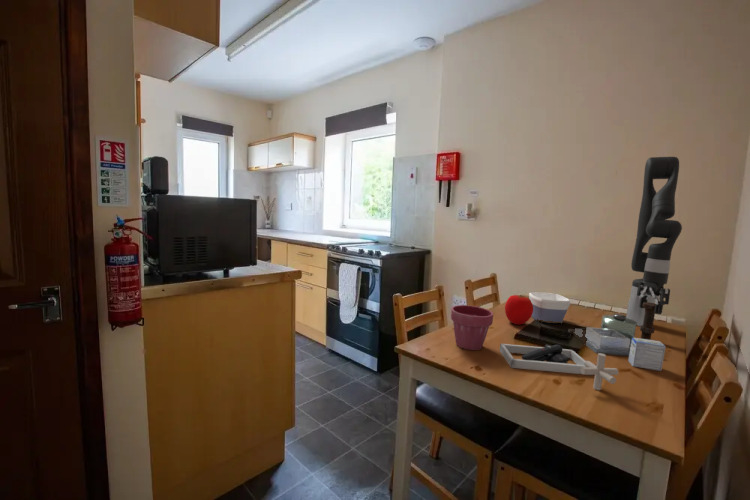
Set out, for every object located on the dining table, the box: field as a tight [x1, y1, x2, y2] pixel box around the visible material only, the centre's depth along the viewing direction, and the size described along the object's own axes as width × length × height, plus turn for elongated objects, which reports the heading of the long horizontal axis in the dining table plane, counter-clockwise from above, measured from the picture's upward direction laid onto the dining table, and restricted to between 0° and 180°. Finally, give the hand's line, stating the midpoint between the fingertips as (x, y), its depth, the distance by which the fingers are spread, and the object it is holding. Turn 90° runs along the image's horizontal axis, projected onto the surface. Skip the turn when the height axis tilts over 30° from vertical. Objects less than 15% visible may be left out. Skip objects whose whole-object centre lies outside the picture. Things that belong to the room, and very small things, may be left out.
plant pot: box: [450, 304, 494, 351], centre depth 123 cm, size 14×14×13 cm
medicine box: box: [628, 337, 666, 372], centre depth 114 cm, size 8×4×9 cm, turn 71°
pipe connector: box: [580, 353, 619, 391], centre depth 97 cm, size 10×10×10 cm
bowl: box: [528, 291, 571, 324], centre depth 158 cm, size 15×15×11 cm
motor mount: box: [574, 313, 637, 357], centre depth 133 cm, size 22×22×10 cm
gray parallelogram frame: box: [499, 343, 589, 376], centre depth 113 cm, size 13×24×2 cm, turn 85°
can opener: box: [521, 344, 570, 364], centre depth 112 cm, size 18×7×6 cm, turn 111°
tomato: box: [504, 294, 533, 326], centre depth 150 cm, size 11×11×13 cm
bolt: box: [639, 302, 656, 340], centre depth 139 cm, size 6×5×15 cm
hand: (649, 310), depth 138 cm, fingers open, 8 cm apart
